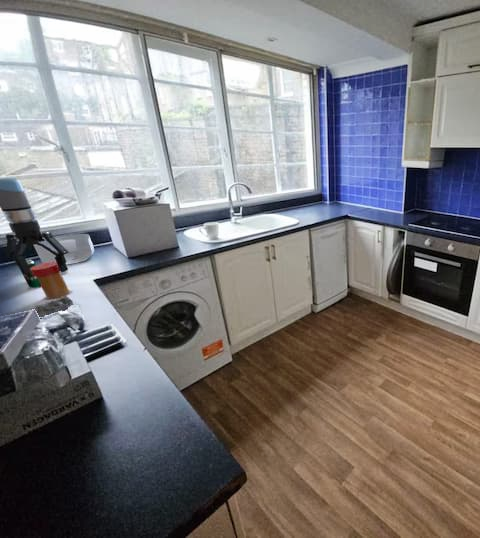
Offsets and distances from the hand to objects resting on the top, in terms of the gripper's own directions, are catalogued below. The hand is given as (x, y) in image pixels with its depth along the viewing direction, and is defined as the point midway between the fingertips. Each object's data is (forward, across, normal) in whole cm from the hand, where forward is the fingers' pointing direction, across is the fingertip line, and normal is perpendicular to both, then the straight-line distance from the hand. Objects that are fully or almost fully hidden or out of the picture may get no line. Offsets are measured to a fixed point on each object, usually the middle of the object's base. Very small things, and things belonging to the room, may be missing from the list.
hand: (46, 272), depth 119 cm
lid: (-2, 0, 0) cm, 2 cm away
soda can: (+11, -17, +12) cm, 23 cm away
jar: (+11, +1, 0) cm, 11 cm away
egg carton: (+11, +10, -15) cm, 21 cm away
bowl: (+11, -26, +48) cm, 56 cm away
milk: (+11, -19, +26) cm, 34 cm away
